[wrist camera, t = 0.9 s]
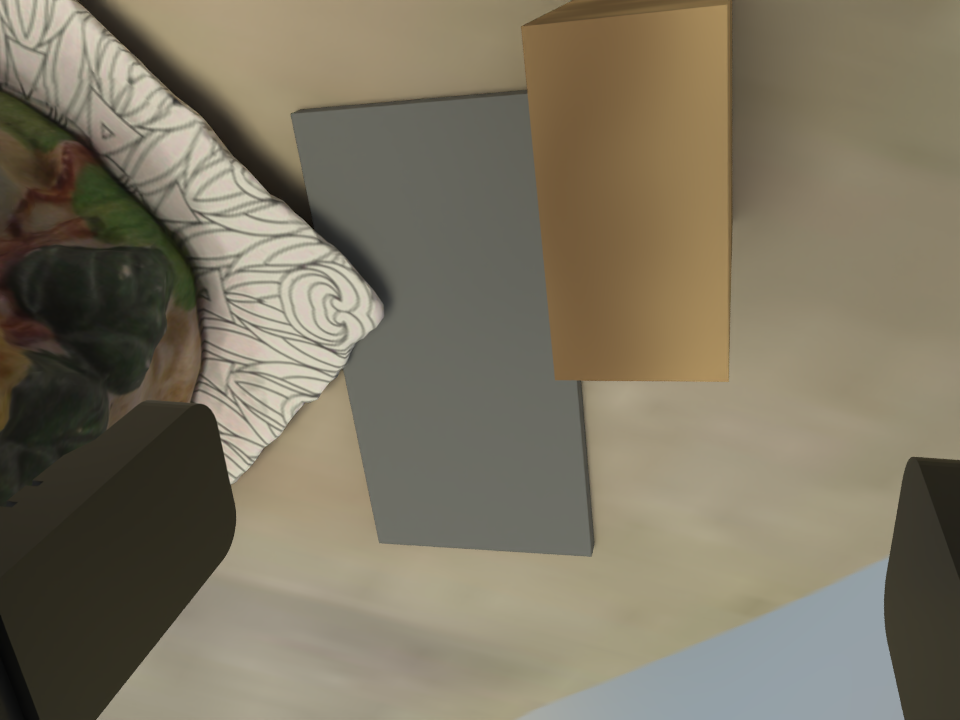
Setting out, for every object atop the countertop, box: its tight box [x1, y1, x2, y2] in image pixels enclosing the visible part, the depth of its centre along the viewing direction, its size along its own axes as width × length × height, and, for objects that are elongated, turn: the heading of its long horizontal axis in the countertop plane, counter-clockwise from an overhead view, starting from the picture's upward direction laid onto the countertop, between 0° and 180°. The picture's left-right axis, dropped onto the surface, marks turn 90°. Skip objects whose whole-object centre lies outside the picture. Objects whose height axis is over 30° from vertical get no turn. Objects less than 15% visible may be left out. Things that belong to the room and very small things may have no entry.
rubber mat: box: [291, 90, 594, 557], centre depth 35 cm, size 10×19×1 cm, turn 7°
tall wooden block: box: [521, 0, 732, 382], centre depth 24 cm, size 4×8×12 cm, turn 7°
